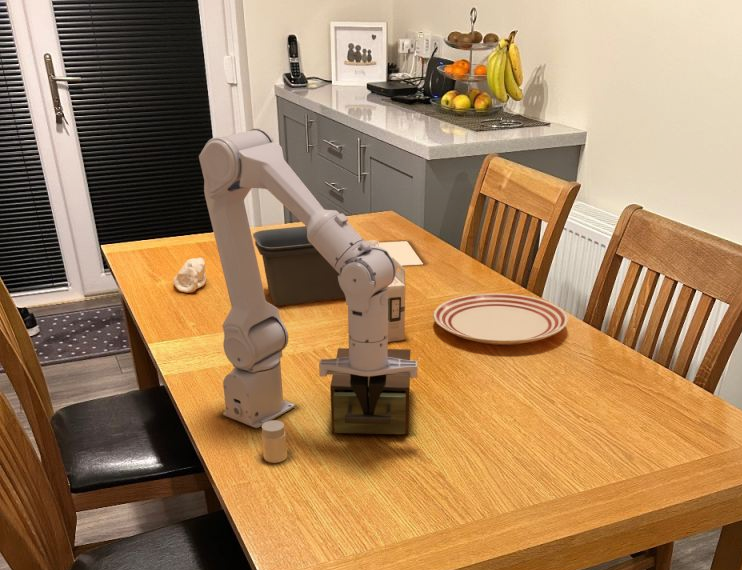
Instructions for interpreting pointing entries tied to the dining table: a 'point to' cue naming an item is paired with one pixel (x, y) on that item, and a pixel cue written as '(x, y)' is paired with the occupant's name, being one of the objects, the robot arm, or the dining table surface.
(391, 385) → the cabinet
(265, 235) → the storage bin
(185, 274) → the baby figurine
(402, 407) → the drawer
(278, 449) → the salt shaker
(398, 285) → the ink box
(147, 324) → the dining table surface
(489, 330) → the dinner plate
